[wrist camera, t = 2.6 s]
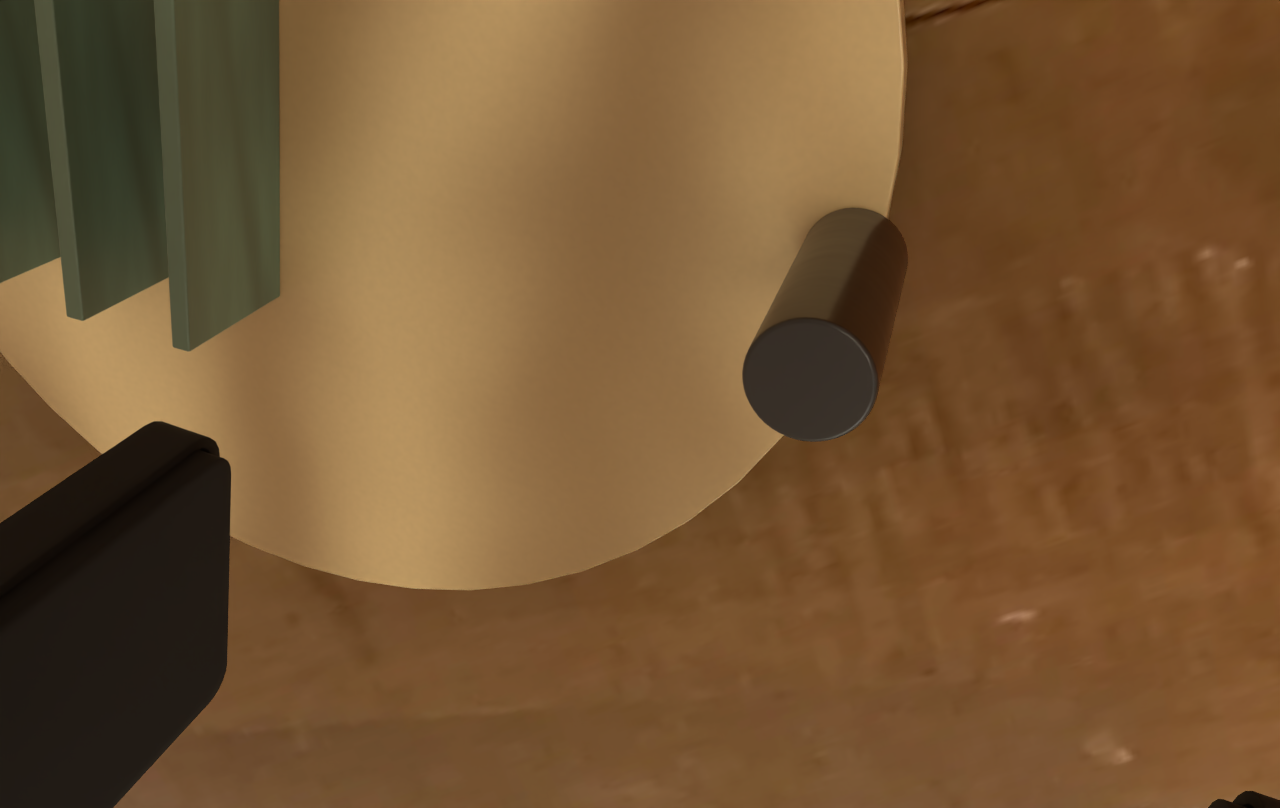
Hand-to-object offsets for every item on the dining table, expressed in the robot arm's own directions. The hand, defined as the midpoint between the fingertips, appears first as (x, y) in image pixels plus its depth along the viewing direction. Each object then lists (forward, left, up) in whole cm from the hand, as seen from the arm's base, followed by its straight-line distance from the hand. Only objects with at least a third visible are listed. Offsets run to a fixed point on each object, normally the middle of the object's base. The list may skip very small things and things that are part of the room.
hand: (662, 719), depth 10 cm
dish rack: (+14, +1, -18) cm, 23 cm away
